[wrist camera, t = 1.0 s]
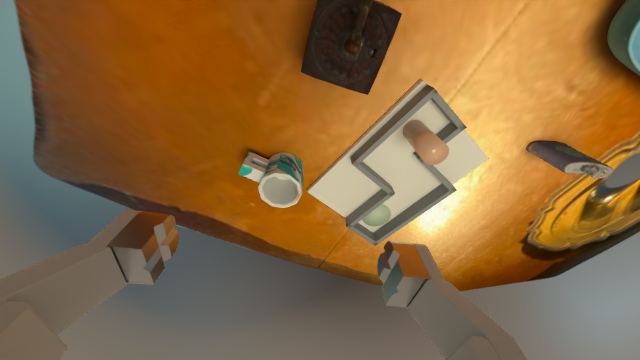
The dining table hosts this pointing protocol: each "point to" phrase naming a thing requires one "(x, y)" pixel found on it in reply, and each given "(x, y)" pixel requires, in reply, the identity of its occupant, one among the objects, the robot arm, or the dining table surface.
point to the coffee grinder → (349, 42)
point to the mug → (276, 177)
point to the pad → (378, 216)
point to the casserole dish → (626, 35)
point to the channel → (398, 166)
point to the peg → (425, 142)
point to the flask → (568, 159)
